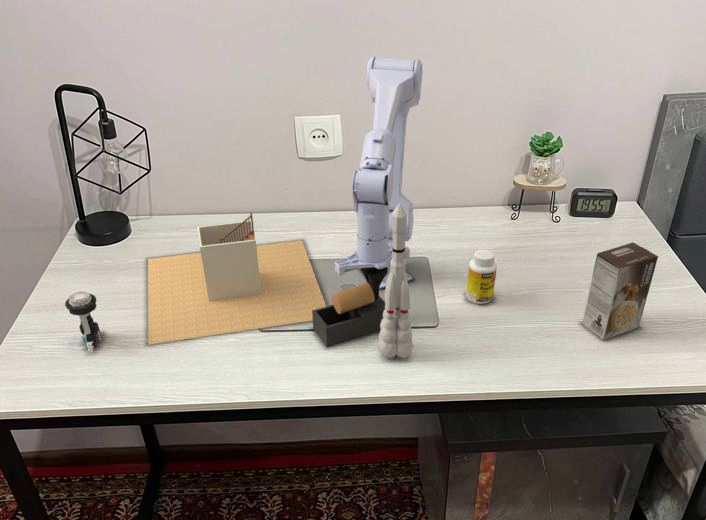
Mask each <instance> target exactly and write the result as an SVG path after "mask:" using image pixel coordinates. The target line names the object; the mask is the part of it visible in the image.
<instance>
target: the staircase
mask: <svg viewBox="0 0 706 520" xmlns="http://www.w3.org/2000/svg"><path fill="white" fill-rule="evenodd" d="M196 229H197V237H198V244H199V250H200V252H199V253H200V257H201V263H202V269H203V275H204V281H205V287H206V293H207V299H208V301H209V302H211V301H219V300H226V299H234V298H241V297H249V296H256V295H262V294H263V292H262V283H261V274H260V265H259V257H258V248H257V246H258V245H257V241H256V240H257V239H256V237H255V236H256V235H255V228H254V219H253V212H252V211H250V212H249V216H248V217H246V218H245V219H244V220H243V221H236V222H235V221H234V222H226V223H217V224H208V225H202V226H201V225H200V226H199V225H198V226H197V228H196Z"/></svg>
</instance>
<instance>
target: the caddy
mask: <svg viewBox="0 0 706 520" xmlns="http://www.w3.org/2000/svg"><path fill="white" fill-rule="evenodd" d="M384 310H385V300H384V299H383V298H382V297H381V296H380V295H379V299H377V300H374V302H373V303H371V304H368V305H365V306H362V307H359V308H356V309H353V310H350V311H348V312H345V313H342V314H338V313H337V311H336V310H335V308H334V305H333V304H330V305H326V307H323V308H319V309H316V310H312V316H313V321H312V330H313V331H314V332H315V333H316V335H317V336H318V337H319V339H320V341H321V342H322V343H323V344H324V345H325V347H326V348H330V347H333V346H336V345H340V344H343V343H346V342H350V341H353V340H357V339H360V338H363V337H366V336H369V335H373V334H377V333H380V331H381V328H380V324H381V321H382V319H383V312H384Z"/></svg>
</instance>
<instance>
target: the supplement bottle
mask: <svg viewBox="0 0 706 520" xmlns="http://www.w3.org/2000/svg"><path fill="white" fill-rule="evenodd" d="M497 269H498V264H497V262H496V261H495V253H494V252H493V251H492V250H489V249H478V250H476V251H475V252H474V254H473V258H472V259H471V260H470V261H469V264H468V273H467V280H466V281H467V282H466V290H465V297H466V299H467V300H468V301H470V302H471V303H474V304H479V305H482V304H488V303H490V302H491V301H492V300H493V297H494V292H495V285H496V277H497Z"/></svg>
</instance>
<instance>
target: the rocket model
mask: <svg viewBox="0 0 706 520" xmlns="http://www.w3.org/2000/svg"><path fill="white" fill-rule="evenodd" d="M393 210H394V211H393V213H392V231H393V246H392V260H391V272H390V274H389V276H388V278H387V281H386V287H385V290H384V299H383V301H384V302H385V310H384V312H383V319H382V321H381V324H380V328H381V331H380V332H379V334H378V341H379V345H378V348H379V352H380V354H381V355H382V356H383V357H385V358H386V359H392V358H395V356H397V357H398V358H405V359H406V358H407V357H409V356H410V355H411V354H412V352H413V350H414V342H413V330H412V323H411V320H410V313H409V310H410V309H411V301H410V288H409V281H408V279H407V277H406V274H405V271H406V270H407V269H406V267H407V266H406V265H407V264H406V259H405V260H404V255H405V245H406V241H405V232H406V227H407V213H406V211H405V210H404V208H403V207H402V205H401V204H400V203H399V204H398V206H397V207H396V208H394V209H393ZM406 272H407V271H406Z"/></svg>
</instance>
